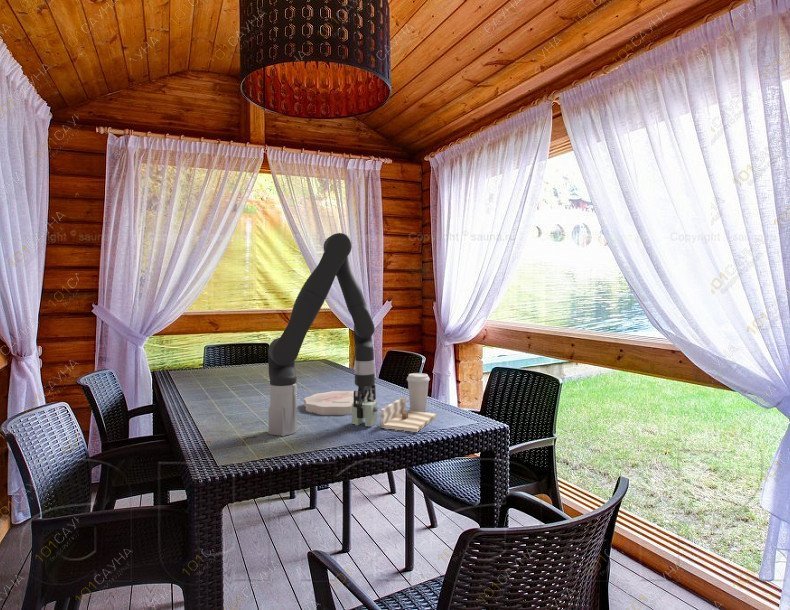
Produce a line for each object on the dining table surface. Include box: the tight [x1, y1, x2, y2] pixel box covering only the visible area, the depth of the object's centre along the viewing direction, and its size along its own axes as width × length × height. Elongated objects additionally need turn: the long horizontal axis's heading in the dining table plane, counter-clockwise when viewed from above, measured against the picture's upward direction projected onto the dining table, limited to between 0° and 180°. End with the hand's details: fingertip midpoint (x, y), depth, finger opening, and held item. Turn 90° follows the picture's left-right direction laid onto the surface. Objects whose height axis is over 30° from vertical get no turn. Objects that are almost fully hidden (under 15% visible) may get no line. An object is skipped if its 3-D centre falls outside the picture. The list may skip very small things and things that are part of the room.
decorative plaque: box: [303, 390, 376, 416], centre depth 211 cm, size 30×4×30 cm
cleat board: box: [380, 396, 437, 433], centre depth 185 cm, size 22×14×7 cm, turn 158°
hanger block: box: [351, 401, 379, 427], centre depth 183 cm, size 5×9×8 cm, turn 68°
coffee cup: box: [406, 372, 431, 413], centre depth 203 cm, size 10×10×15 cm
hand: (365, 415), depth 184 cm, fingers open, 8 cm apart
